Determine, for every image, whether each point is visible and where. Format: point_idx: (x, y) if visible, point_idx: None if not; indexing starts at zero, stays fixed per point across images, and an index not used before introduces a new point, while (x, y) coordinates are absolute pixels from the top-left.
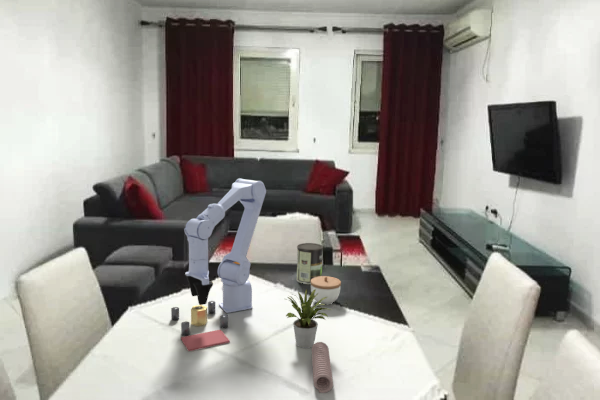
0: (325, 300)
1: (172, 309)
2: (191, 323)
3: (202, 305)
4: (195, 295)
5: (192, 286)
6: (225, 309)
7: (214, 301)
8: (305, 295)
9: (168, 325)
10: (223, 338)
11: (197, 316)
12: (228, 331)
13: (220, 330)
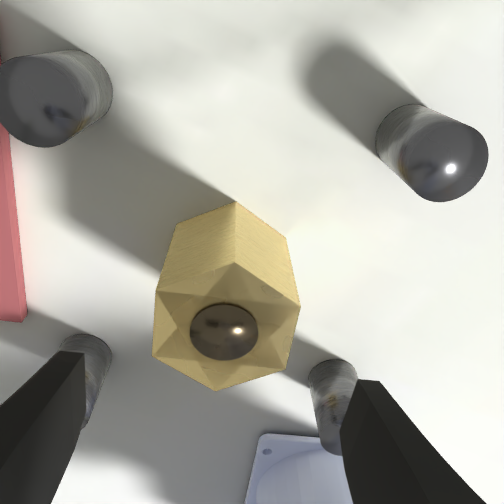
0: None
1: (448, 132)
2: (231, 205)
3: (261, 371)
4: (350, 408)
5: (405, 499)
6: (297, 447)
7: None
8: None
9: (328, 29)
10: None
11: (164, 265)
12: (8, 348)
13: (3, 316)
